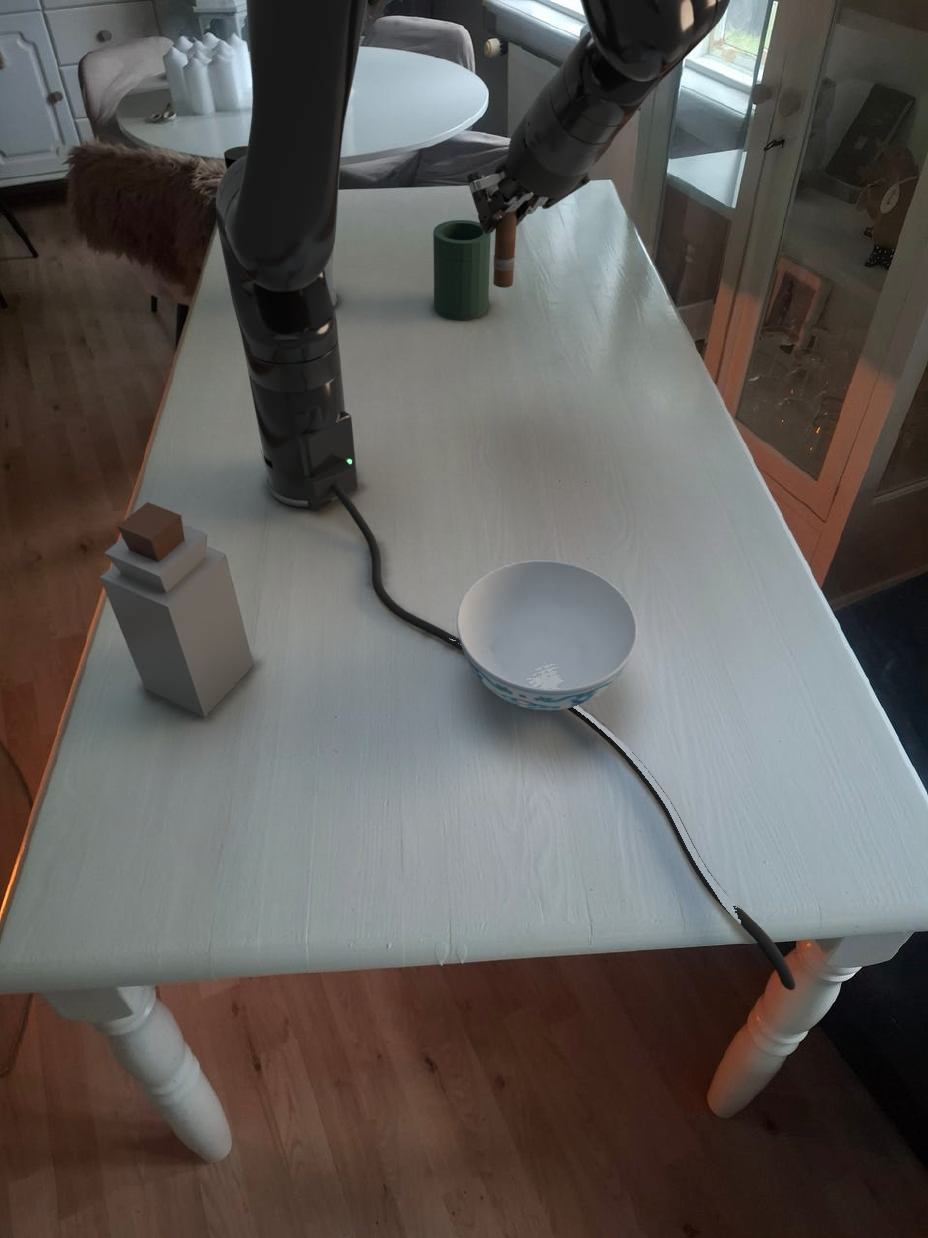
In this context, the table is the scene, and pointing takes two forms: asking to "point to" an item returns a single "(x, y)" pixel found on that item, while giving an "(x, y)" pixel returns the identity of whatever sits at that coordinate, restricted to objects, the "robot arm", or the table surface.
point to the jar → (461, 269)
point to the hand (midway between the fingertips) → (496, 222)
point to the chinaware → (546, 632)
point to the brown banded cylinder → (505, 250)
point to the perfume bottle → (177, 609)
